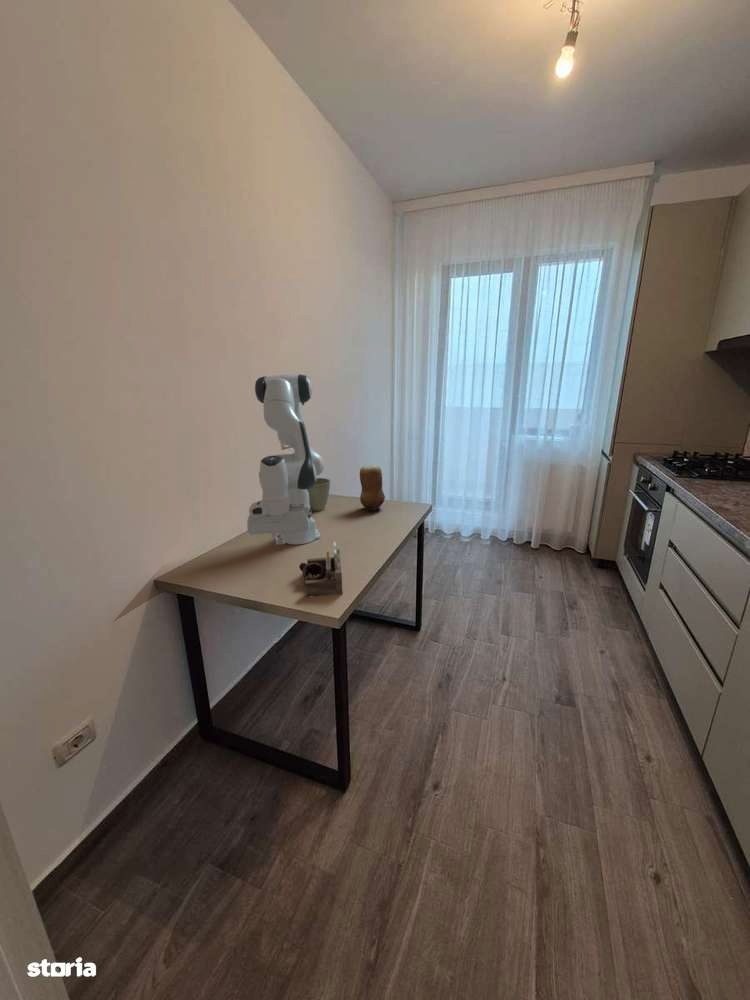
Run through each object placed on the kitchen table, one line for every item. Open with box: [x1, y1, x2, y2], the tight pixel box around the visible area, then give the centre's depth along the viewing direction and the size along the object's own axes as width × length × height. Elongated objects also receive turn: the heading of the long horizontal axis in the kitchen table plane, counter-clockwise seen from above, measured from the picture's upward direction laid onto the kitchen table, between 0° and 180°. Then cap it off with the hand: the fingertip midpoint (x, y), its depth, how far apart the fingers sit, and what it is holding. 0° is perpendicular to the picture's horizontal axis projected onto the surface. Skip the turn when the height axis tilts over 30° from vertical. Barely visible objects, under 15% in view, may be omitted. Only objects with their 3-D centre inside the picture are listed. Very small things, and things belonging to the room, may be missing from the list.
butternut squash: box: [359, 464, 386, 511], centre depth 216 cm, size 14×13×25 cm
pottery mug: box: [298, 562, 327, 586], centre depth 142 cm, size 12×10×8 cm
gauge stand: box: [304, 540, 344, 598], centre depth 140 cm, size 19×12×13 cm, turn 7°
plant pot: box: [306, 477, 331, 512], centre depth 221 cm, size 15×15×16 cm
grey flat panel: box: [325, 551, 332, 579], centre depth 141 cm, size 10×2×11 cm, turn 7°
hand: (280, 543), depth 136 cm, fingers closed
